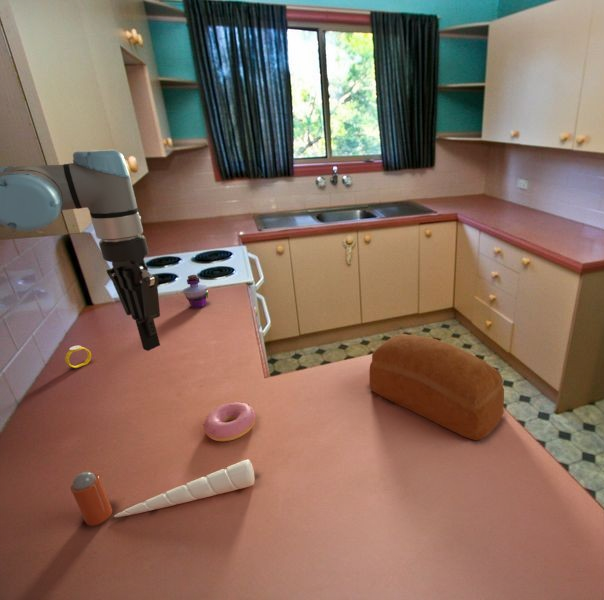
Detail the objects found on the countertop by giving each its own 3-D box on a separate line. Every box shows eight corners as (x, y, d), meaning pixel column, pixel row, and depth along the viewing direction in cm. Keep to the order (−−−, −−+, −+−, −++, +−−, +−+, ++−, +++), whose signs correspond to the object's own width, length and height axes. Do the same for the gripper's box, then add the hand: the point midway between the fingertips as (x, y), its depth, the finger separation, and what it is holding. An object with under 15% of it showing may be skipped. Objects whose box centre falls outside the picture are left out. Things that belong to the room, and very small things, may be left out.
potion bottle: (215, 304, 160) (209, 275, 156) (192, 312, 155) (185, 281, 150) (204, 299, 166) (198, 270, 161) (182, 306, 160) (175, 276, 155)
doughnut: (259, 436, 93) (256, 421, 91) (204, 451, 89) (200, 435, 88) (255, 407, 102) (252, 393, 101) (206, 419, 99) (202, 405, 97)
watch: (72, 372, 120) (65, 353, 117) (67, 369, 121) (60, 351, 118) (95, 362, 124) (88, 344, 122) (89, 359, 126) (83, 342, 123)
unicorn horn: (120, 501, 78) (113, 482, 76) (255, 472, 84) (251, 453, 82) (112, 523, 74) (104, 503, 72) (255, 490, 80) (250, 471, 78)
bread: (478, 447, 88) (482, 384, 82) (364, 390, 108) (360, 336, 101) (508, 413, 98) (513, 355, 92) (399, 367, 117) (397, 316, 111)
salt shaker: (81, 520, 75) (61, 478, 71) (104, 503, 78) (87, 462, 74) (93, 529, 73) (74, 487, 69) (117, 511, 76) (100, 470, 72)
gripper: (162, 236, 80) (188, 346, 89) (120, 229, 86) (149, 333, 95) (122, 245, 74) (155, 363, 83) (80, 237, 79) (115, 348, 89)
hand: (151, 347), depth 89 cm, fingers closed
